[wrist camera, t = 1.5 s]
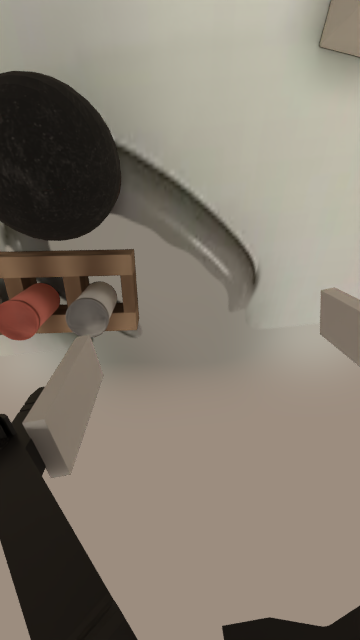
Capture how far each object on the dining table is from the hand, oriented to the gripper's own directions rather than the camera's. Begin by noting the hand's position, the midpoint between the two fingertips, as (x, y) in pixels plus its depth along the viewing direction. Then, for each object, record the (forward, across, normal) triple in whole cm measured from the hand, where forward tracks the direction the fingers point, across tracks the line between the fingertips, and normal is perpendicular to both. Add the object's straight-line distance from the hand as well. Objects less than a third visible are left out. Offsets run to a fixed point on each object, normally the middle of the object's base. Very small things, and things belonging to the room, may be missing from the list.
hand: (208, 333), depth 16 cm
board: (+24, -18, -1) cm, 30 cm away
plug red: (+19, -18, -1) cm, 26 cm away
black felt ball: (+24, -11, +12) cm, 29 cm away
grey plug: (+19, -11, -2) cm, 22 cm away
